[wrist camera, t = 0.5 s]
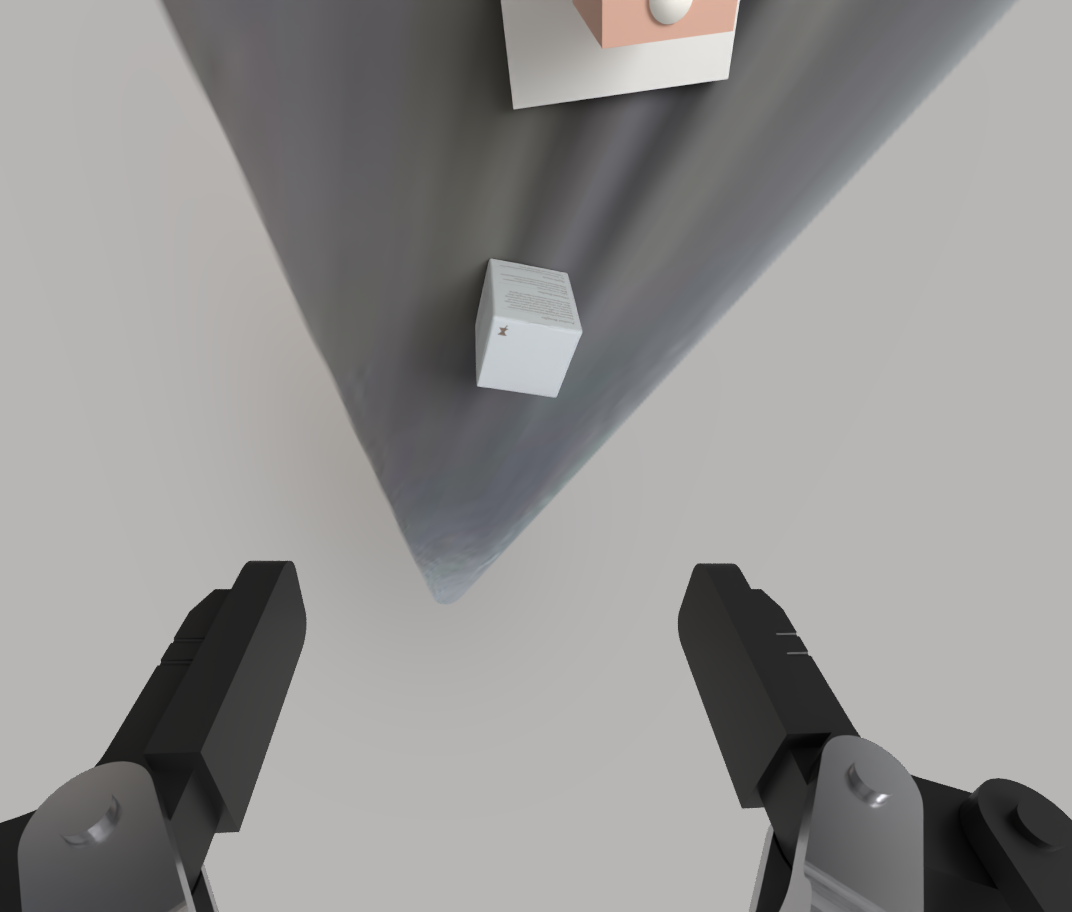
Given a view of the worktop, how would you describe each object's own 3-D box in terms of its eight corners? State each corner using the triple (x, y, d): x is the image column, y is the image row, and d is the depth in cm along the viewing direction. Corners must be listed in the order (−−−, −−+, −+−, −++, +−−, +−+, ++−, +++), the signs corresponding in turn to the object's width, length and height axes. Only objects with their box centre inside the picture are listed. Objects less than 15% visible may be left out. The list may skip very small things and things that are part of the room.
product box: (473, 325, 42) (473, 387, 37) (488, 254, 37) (491, 314, 32) (547, 338, 43) (557, 400, 38) (570, 272, 39) (584, 332, 34)
